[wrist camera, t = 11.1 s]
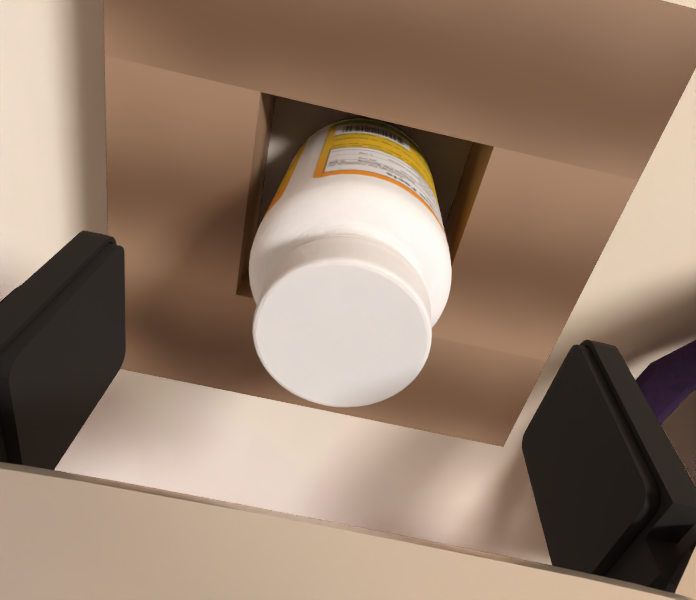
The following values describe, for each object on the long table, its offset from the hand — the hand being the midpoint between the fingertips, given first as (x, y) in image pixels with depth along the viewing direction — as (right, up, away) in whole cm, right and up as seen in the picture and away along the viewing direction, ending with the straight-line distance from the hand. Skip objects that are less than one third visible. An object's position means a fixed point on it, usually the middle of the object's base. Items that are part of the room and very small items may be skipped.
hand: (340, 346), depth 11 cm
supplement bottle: (+1, +5, +9) cm, 10 cm away
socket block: (0, +5, +9) cm, 10 cm away
